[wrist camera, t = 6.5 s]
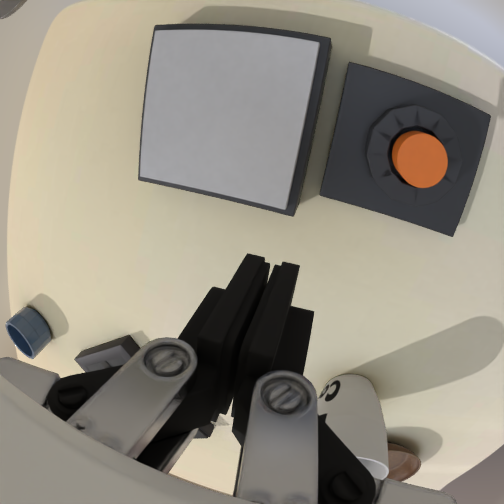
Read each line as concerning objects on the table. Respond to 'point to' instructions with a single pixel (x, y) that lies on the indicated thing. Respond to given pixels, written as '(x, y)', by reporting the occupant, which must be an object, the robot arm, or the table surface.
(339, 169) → the panel
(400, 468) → the saucer
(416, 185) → the button
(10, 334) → the blue round container
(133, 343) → the picture frame
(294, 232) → the table surface
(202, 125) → the scale
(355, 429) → the cup
